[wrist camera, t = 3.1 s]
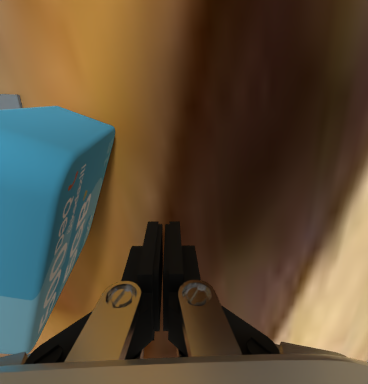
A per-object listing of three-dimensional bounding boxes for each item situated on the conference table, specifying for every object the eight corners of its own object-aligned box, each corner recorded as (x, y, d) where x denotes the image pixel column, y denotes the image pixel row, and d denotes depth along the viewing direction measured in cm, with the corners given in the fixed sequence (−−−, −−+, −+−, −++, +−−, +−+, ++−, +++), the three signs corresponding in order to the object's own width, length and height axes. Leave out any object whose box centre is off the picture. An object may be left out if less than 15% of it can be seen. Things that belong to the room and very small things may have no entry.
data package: (88, 237, 22) (24, 370, 11) (40, 226, 21) (-82, 362, 10) (118, 124, 18) (64, 162, 7) (62, 104, 17) (-100, 112, 6)
